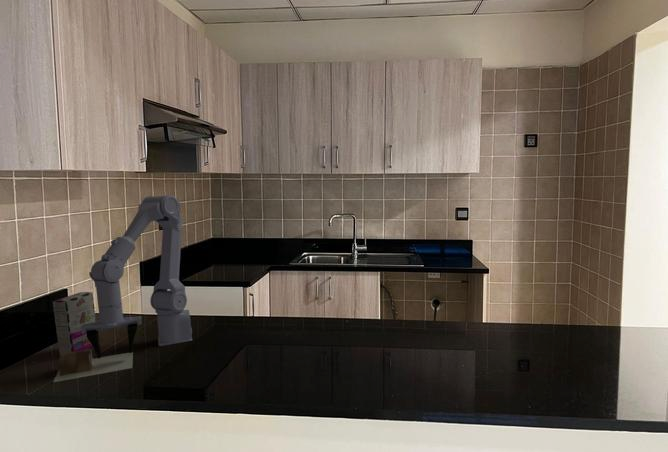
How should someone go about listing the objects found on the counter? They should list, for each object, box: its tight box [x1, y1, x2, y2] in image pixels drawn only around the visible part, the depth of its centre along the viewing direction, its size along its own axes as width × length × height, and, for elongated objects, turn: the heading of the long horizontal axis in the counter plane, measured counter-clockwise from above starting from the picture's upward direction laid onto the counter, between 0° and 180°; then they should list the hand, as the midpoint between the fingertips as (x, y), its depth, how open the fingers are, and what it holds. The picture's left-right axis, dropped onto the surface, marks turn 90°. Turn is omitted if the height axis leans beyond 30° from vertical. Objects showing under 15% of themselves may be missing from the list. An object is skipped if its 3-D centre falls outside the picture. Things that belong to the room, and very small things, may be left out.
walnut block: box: [58, 348, 94, 376], centre depth 126 cm, size 4×6×7 cm
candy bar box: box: [52, 291, 97, 356], centre depth 143 cm, size 11×5×16 cm, turn 168°
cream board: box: [52, 351, 134, 383], centre depth 128 cm, size 18×14×1 cm
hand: (115, 354), depth 130 cm, fingers open, 7 cm apart
